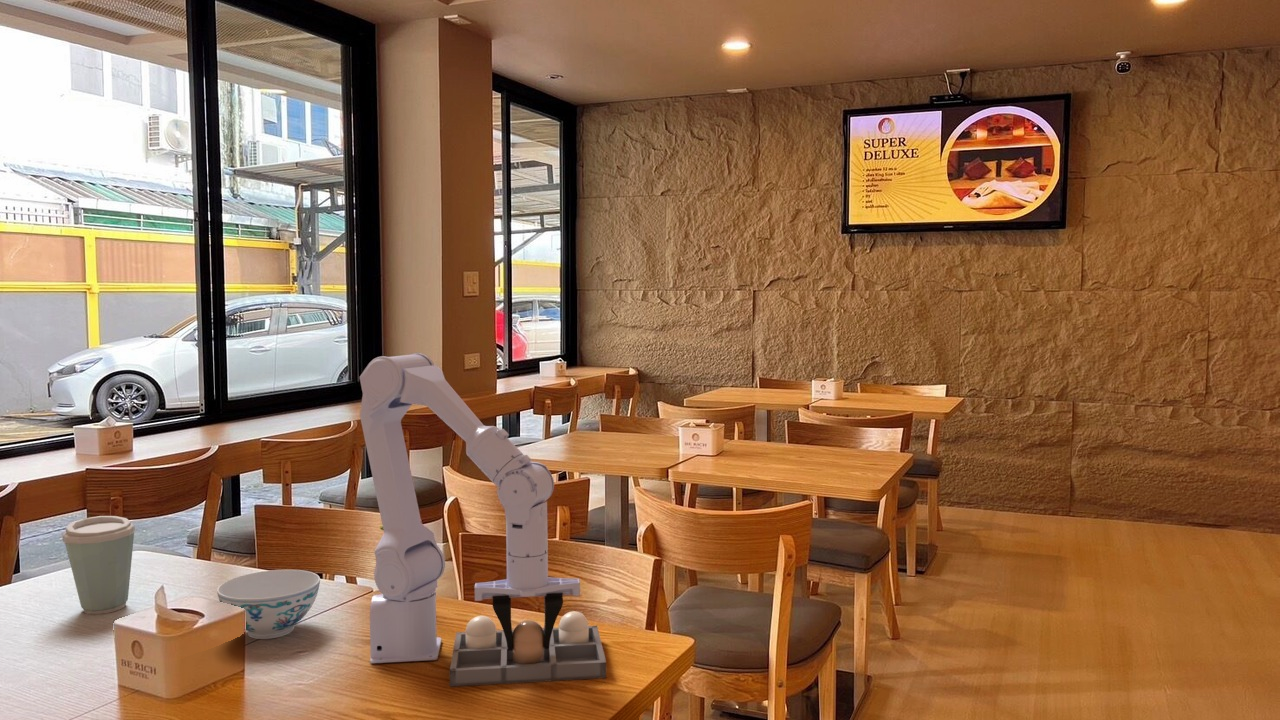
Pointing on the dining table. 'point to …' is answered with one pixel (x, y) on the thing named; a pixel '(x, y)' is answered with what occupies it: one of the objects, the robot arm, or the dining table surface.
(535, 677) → the egg carton
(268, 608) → the chinaware
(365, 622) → the dining table surface
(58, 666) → the dining table surface
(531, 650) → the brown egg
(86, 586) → the disposable coffee cup
